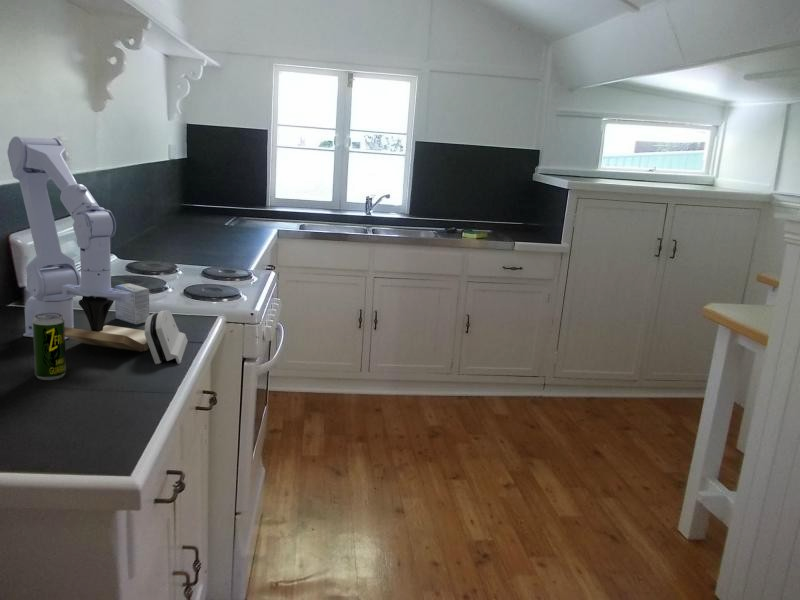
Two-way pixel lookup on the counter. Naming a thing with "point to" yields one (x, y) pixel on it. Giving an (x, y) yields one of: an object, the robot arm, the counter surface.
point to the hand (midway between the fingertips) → (97, 331)
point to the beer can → (49, 346)
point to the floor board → (128, 334)
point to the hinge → (164, 337)
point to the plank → (103, 339)
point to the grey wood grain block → (133, 304)
